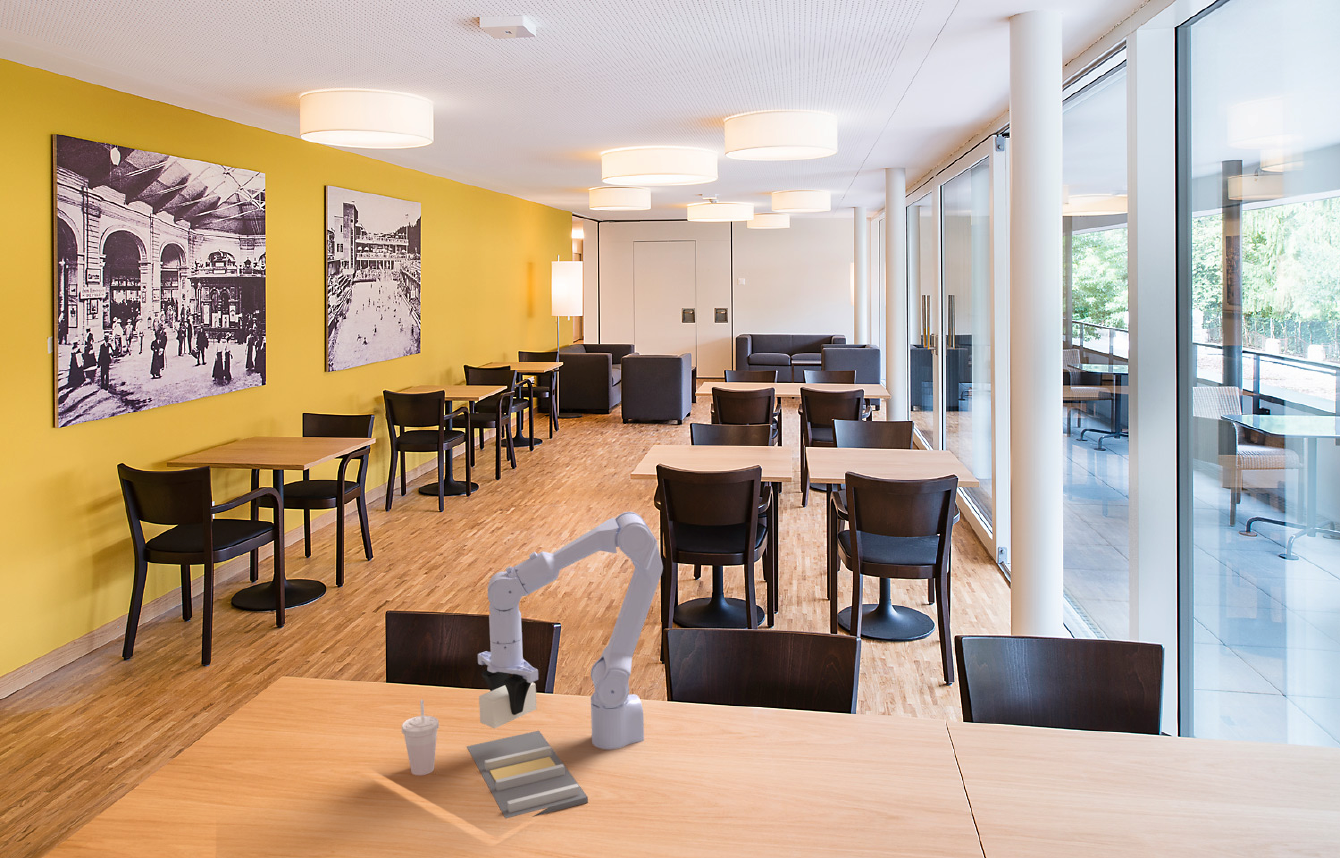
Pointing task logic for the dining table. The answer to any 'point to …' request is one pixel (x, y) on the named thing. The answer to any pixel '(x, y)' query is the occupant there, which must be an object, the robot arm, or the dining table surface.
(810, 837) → the dining table surface
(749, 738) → the dining table surface
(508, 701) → the frame block
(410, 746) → the smoothie
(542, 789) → the grey ridged board
